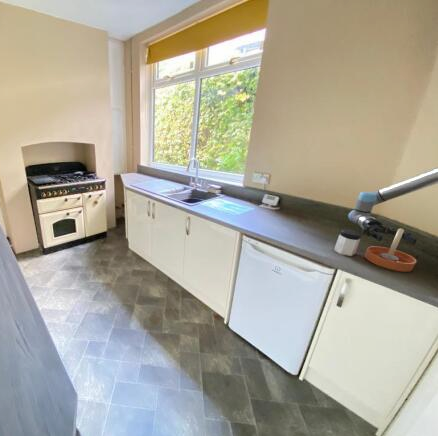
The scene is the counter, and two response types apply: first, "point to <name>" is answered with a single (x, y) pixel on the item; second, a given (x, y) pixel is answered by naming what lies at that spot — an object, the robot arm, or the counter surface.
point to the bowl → (403, 263)
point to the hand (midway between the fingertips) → (397, 240)
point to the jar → (347, 242)
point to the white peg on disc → (393, 247)
